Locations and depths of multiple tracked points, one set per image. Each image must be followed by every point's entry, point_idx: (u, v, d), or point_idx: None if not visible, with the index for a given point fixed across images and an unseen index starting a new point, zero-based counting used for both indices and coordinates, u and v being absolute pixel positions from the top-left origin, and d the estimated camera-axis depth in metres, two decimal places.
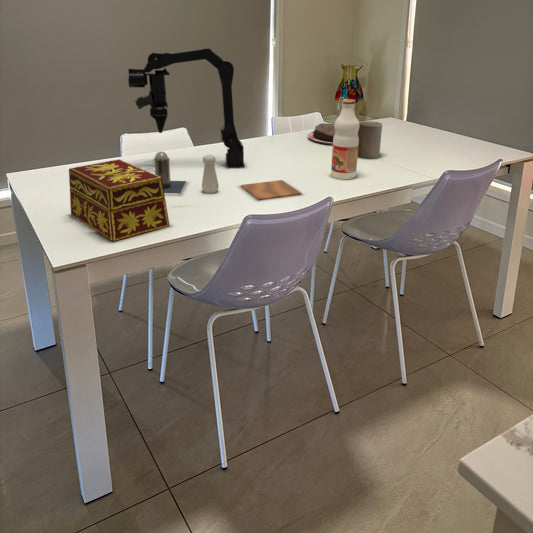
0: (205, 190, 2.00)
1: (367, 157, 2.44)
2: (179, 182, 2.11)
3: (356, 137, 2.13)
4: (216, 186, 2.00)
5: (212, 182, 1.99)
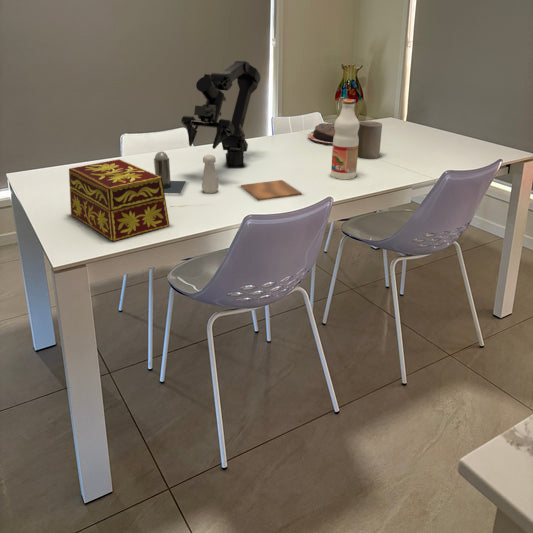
0: (205, 190, 2.00)
1: (367, 157, 2.44)
2: (179, 182, 2.11)
3: (356, 137, 2.13)
4: (216, 186, 2.00)
5: (212, 182, 1.99)
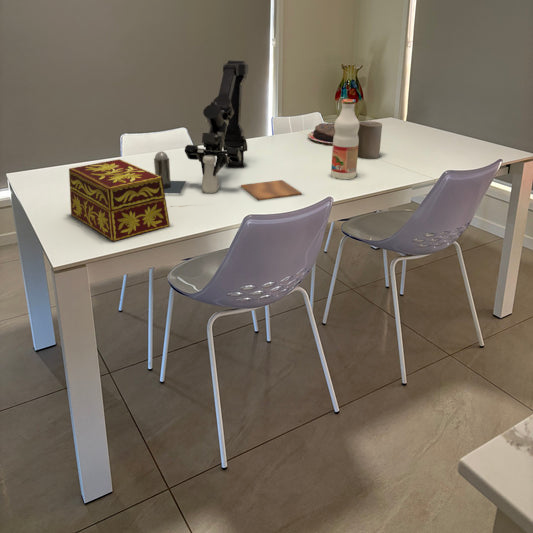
0: (205, 190, 2.00)
1: (367, 157, 2.44)
2: (179, 182, 2.11)
3: (356, 137, 2.13)
4: (216, 186, 2.00)
5: (212, 182, 1.99)
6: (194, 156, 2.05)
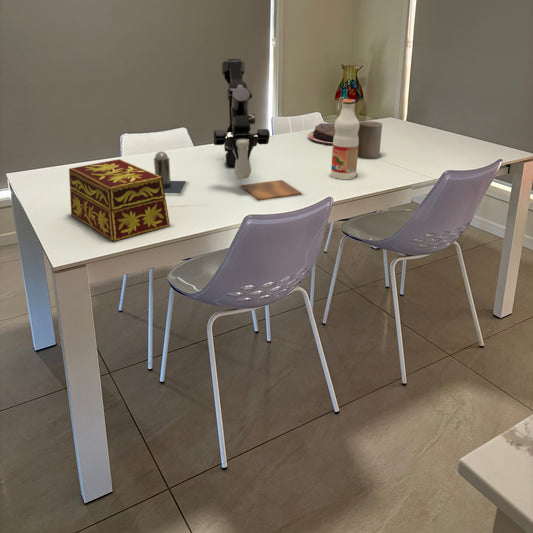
0: (240, 174, 1.97)
1: (367, 157, 2.44)
2: (179, 182, 2.11)
3: (356, 137, 2.13)
4: (250, 169, 1.98)
5: (247, 166, 1.97)
6: (219, 141, 2.00)
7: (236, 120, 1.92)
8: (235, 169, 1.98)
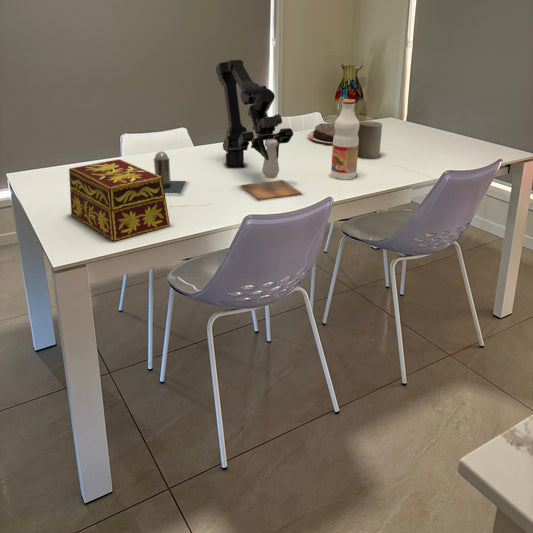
0: (270, 174, 2.00)
1: (367, 157, 2.44)
2: (179, 182, 2.11)
3: (356, 137, 2.13)
4: (278, 168, 2.02)
5: (277, 165, 2.00)
6: (244, 143, 2.01)
7: (266, 121, 1.94)
8: (265, 169, 2.00)
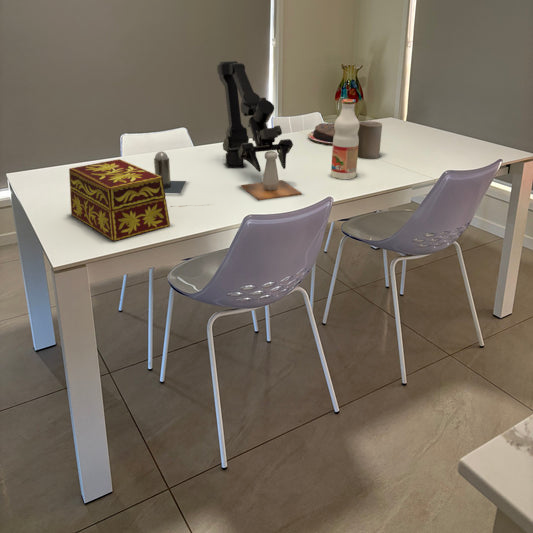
0: (270, 186, 2.02)
1: (367, 157, 2.44)
2: (179, 182, 2.11)
3: (356, 137, 2.13)
4: (278, 180, 2.04)
5: (276, 177, 2.02)
6: (244, 154, 2.03)
7: (265, 132, 1.96)
8: (265, 181, 2.02)
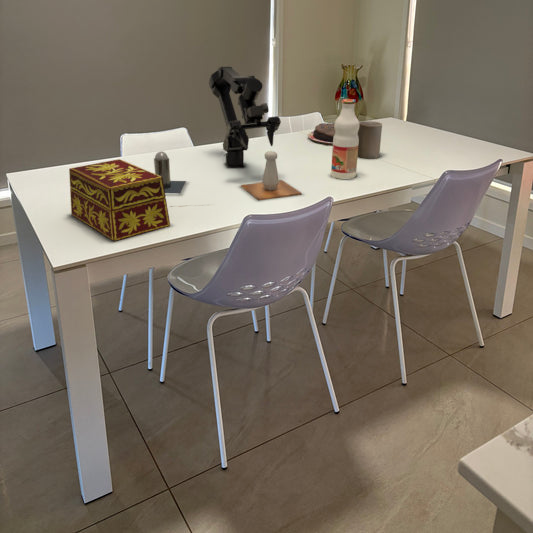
0: (270, 186, 2.02)
1: (367, 157, 2.44)
2: (179, 182, 2.11)
3: (356, 137, 2.13)
4: (278, 180, 2.04)
5: (276, 177, 2.02)
6: (233, 132, 2.09)
7: (252, 110, 2.01)
8: (265, 181, 2.02)
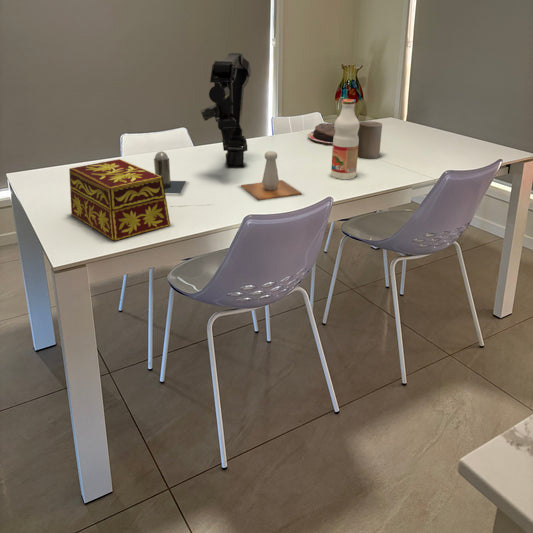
0: (270, 186, 2.02)
1: (367, 157, 2.44)
2: (179, 182, 2.11)
3: (356, 137, 2.13)
4: (278, 180, 2.04)
5: (276, 177, 2.02)
6: None
7: None
8: (265, 181, 2.02)
